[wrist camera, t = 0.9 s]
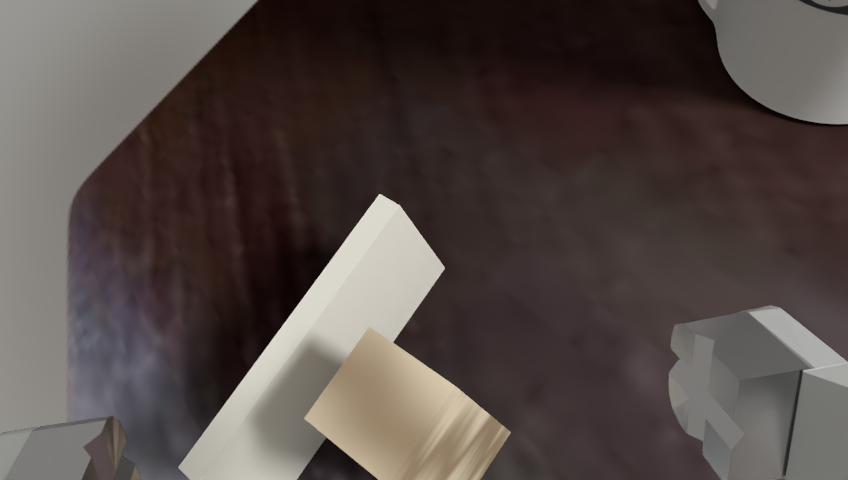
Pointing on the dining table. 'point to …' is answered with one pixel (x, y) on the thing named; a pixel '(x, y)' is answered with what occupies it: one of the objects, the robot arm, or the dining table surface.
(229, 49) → the dining table surface
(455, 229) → the dining table surface
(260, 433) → the upright white panel
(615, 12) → the dining table surface
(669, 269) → the dining table surface
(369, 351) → the marked block
